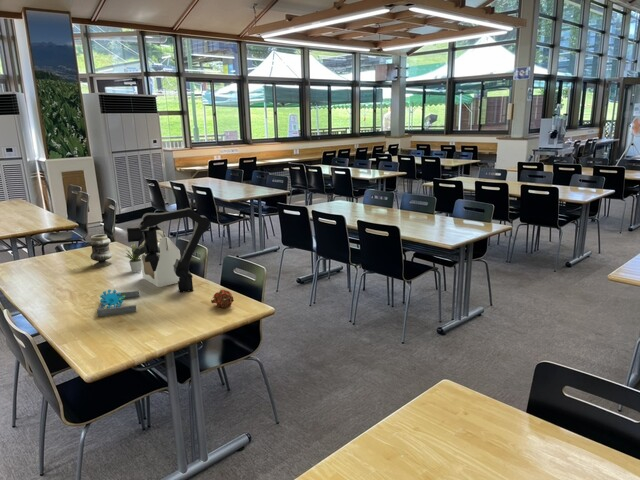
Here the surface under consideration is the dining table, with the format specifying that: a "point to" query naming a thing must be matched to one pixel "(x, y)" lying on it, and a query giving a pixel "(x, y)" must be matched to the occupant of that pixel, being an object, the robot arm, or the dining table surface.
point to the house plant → (134, 260)
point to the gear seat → (118, 310)
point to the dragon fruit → (223, 298)
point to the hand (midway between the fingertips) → (154, 271)
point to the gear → (112, 299)
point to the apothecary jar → (100, 250)
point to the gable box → (162, 263)
